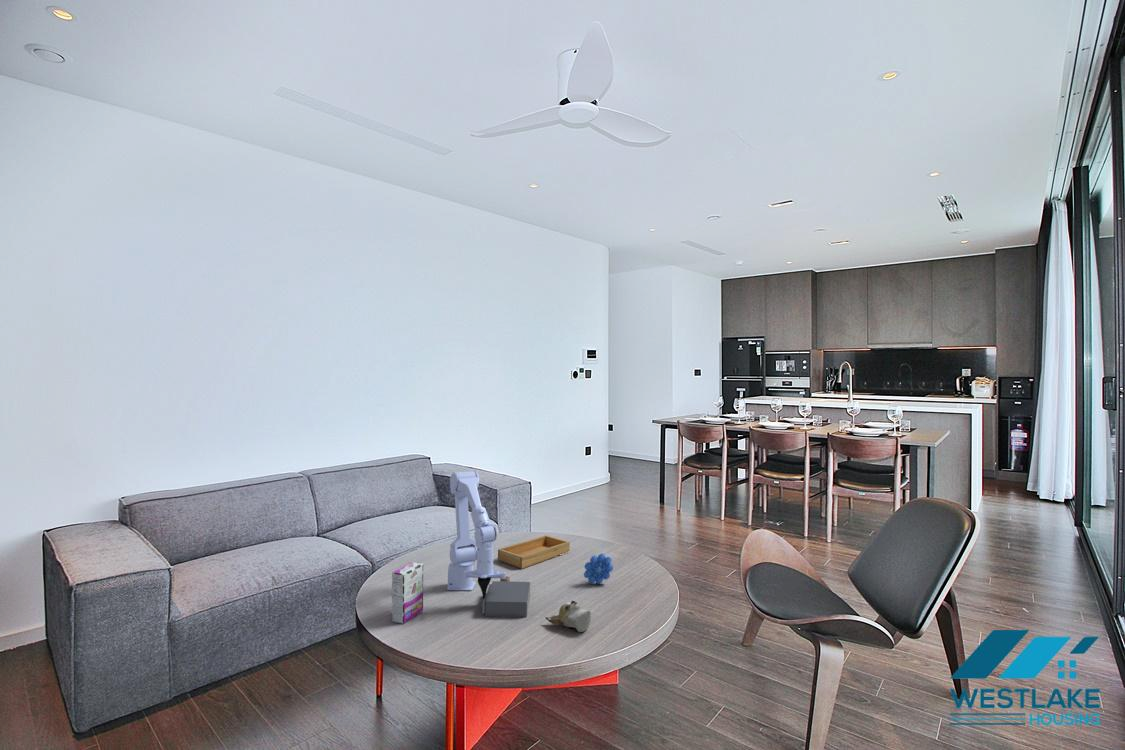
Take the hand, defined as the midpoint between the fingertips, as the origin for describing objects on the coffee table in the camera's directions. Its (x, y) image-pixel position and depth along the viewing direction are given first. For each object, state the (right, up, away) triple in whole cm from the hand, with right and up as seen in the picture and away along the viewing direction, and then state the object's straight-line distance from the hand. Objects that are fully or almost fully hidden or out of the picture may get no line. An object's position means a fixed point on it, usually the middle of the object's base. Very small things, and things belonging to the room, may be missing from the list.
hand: (484, 598), depth 193 cm
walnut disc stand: (+6, -3, +15) cm, 16 cm away
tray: (+15, -3, +52) cm, 54 cm away
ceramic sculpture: (+31, -3, -15) cm, 34 cm away
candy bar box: (-24, -2, -10) cm, 26 cm away
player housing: (+9, -3, 0) cm, 9 cm away
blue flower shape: (+42, -3, +22) cm, 47 cm away
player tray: (+7, -2, 0) cm, 8 cm away
